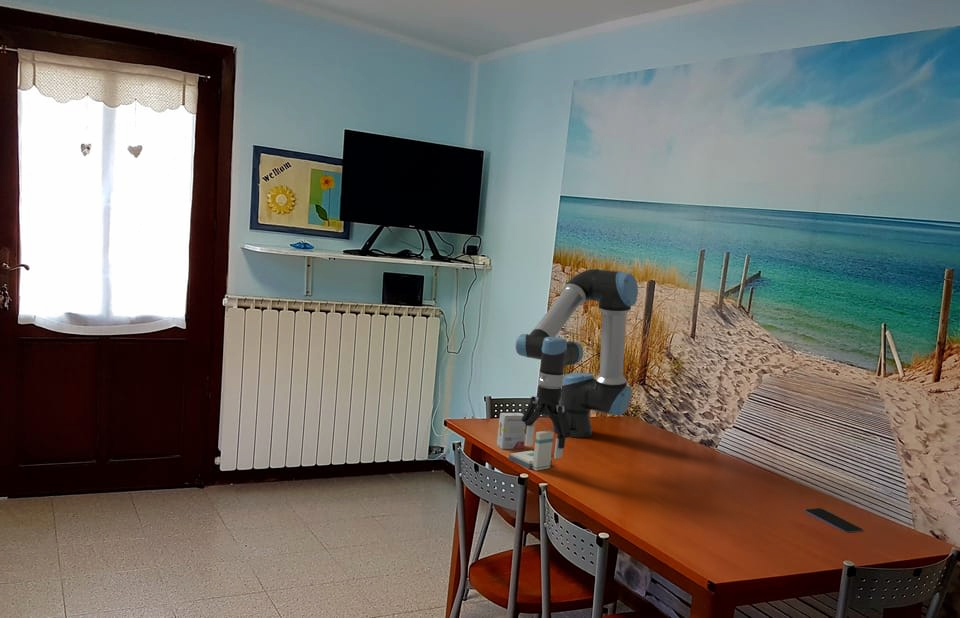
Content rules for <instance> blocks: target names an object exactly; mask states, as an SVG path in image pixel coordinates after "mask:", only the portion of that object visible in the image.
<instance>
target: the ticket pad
mask: <svg viewBox="0 0 960 618" xmlns="http://www.w3.org/2000/svg"><path fill="white" fill-rule="evenodd" d="M533 457H534V450H527V451H520V452H519V451H518V452H512V453H511V454H509V455H508V461H510V462H512V463H515V464H516V465H519V466H521V467H523V468H525V469H527V470H533V469H532V466H533ZM550 465H553V460H552V459H551V461H550Z"/></svg>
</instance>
